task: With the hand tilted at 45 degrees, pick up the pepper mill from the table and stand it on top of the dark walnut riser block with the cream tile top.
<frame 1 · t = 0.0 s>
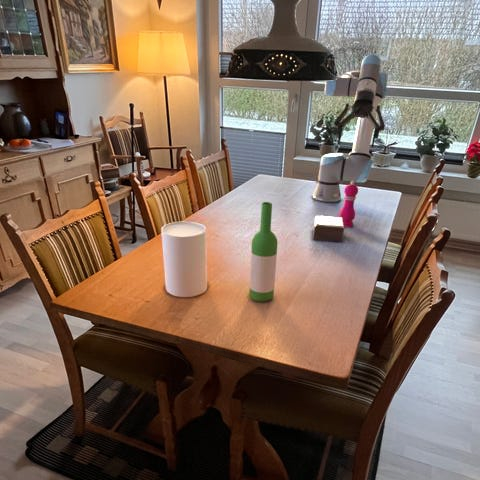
hand: (355, 144, 168), 36 cm above the table, tool tilted 35°, fingers open, 13 cm apart
wine bottle: (261, 297, 132), on the table
pepper mill: (345, 225, 193), on the table
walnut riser: (327, 236, 179), on the table
canister: (186, 287, 136), on the table
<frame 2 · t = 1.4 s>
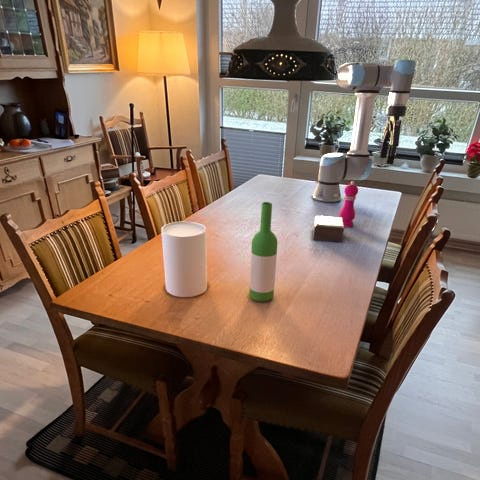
hand: (386, 161, 176), 29 cm above the table, tool pointing down, fingers open, 13 cm apart
nothing on the table moved.
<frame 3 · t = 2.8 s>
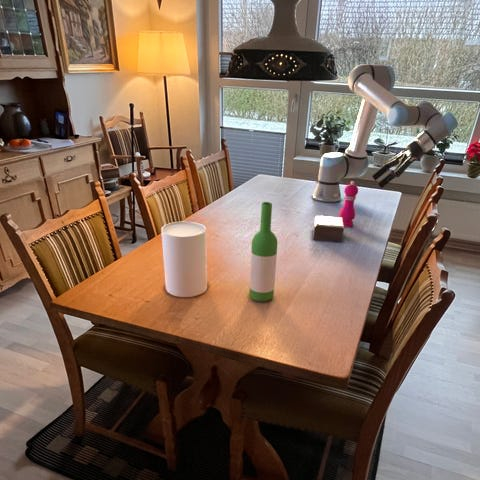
hand: (376, 181, 181), 20 cm above the table, tool tilted 45°, fingers open, 13 cm apart
nothing on the table moved.
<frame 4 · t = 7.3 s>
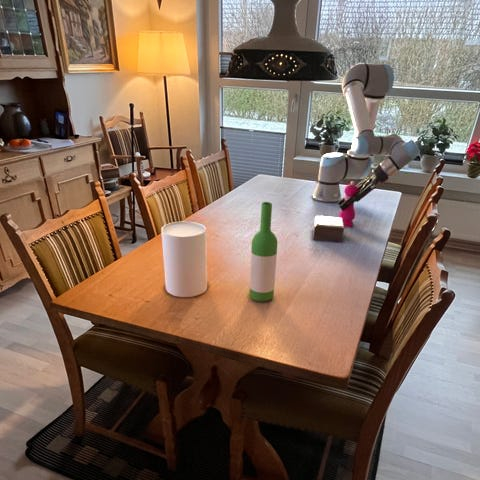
hand: (340, 207, 188), 8 cm above the table, tool tilted 45°, fingers closed on pepper mill, 5 cm apart
pepper mill: (345, 225, 193), on the table, touching gripper
everything else where it was.
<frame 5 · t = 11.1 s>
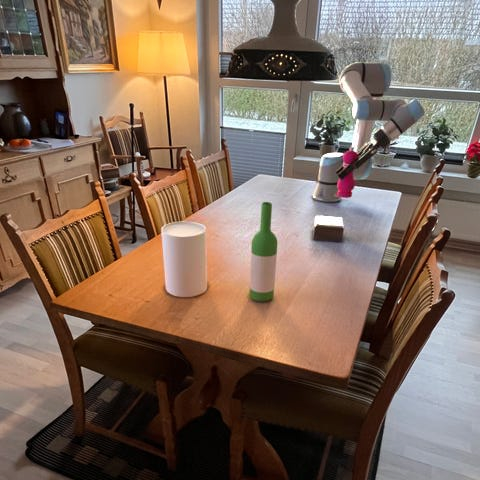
hand: (338, 175, 175), 23 cm above the table, tool tilted 45°, fingers closed on pepper mill, 5 cm apart
pepper mill: (344, 196, 179), point 15 cm above the table, touching gripper
everything else where it was.
when the fingers open (15 cm above the table, at t = 15.3 s): pepper mill stays where it is, resting on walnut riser.
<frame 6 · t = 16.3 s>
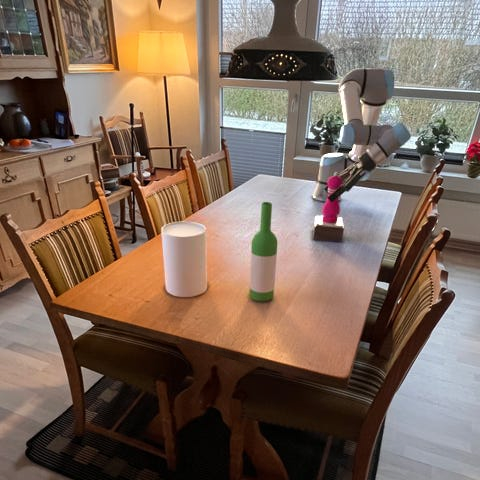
hand: (327, 195, 170), 18 cm above the table, tool tilted 45°, fingers open, 13 cm apart
pepper mill: (329, 221, 176), point 7 cm above the table, touching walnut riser
everything else where it was.
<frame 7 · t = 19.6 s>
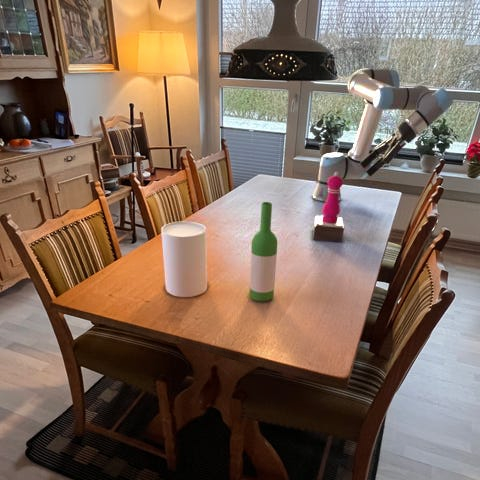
hand: (364, 169, 165), 28 cm above the table, tool tilted 40°, fingers open, 13 cm apart
nothing on the table moved.
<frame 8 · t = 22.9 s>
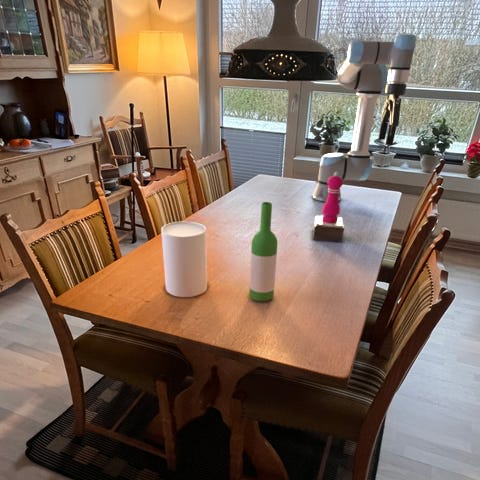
hand: (385, 142, 170), 37 cm above the table, tool pointing down, fingers open, 13 cm apart
nothing on the table moved.
at the end: pepper mill inside the target area on the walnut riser (0.1 cm from its centre), point 6.8 cm above the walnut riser's base; pepper mill tilted 0°; pepper mill touching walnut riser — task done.
